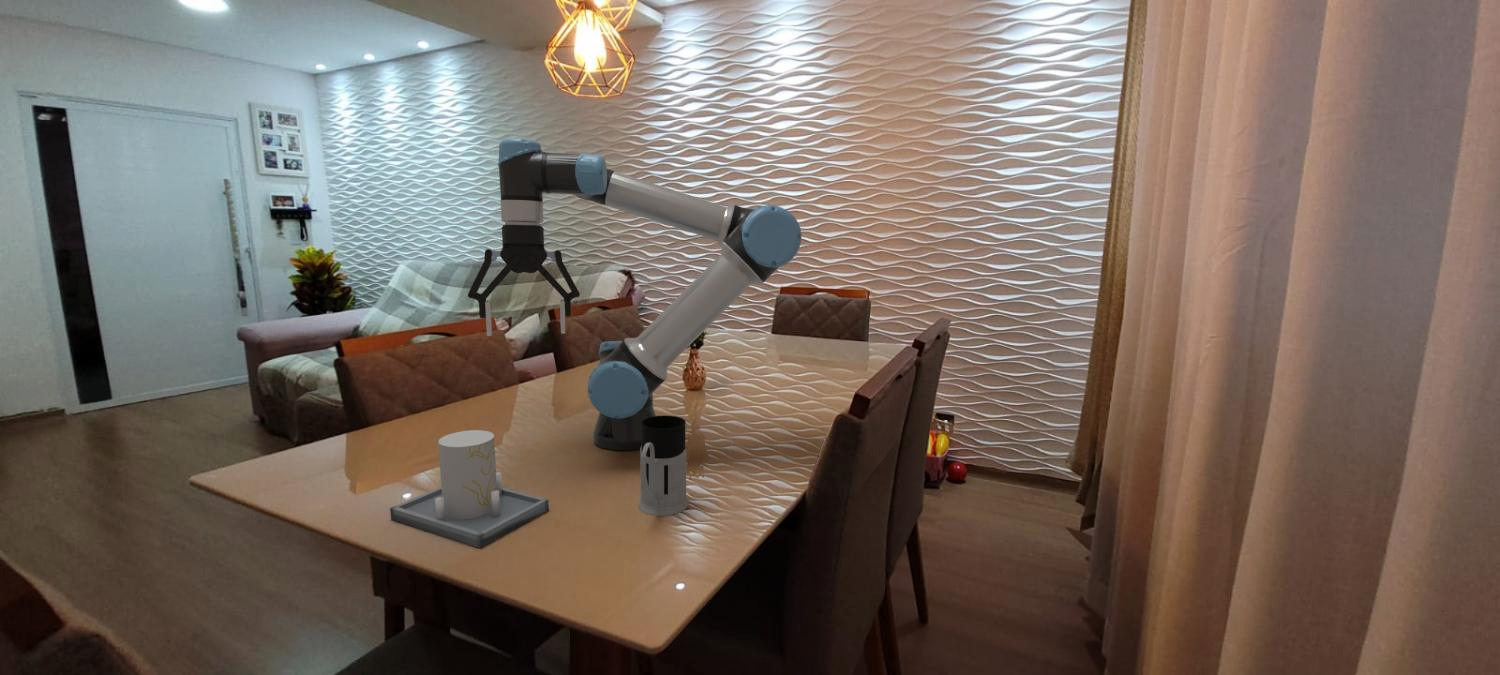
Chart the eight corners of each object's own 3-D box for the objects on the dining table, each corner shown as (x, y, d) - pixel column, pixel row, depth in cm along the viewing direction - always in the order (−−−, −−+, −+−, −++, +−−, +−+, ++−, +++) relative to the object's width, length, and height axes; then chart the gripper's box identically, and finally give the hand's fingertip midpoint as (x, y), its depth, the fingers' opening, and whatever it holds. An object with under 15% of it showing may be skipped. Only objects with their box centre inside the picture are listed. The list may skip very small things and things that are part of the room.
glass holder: (694, 496, 106) (695, 416, 104) (669, 534, 92) (669, 442, 90) (648, 491, 108) (648, 412, 105) (617, 528, 94) (616, 438, 92)
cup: (476, 522, 92) (472, 449, 90) (431, 516, 94) (426, 444, 92) (507, 500, 100) (504, 432, 98) (465, 495, 102) (461, 428, 100)
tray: (548, 510, 100) (547, 481, 99) (480, 548, 87) (478, 515, 86) (464, 487, 108) (463, 460, 107) (390, 519, 95) (388, 489, 94)
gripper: (588, 226, 120) (590, 329, 124) (452, 222, 112) (459, 332, 115) (591, 225, 114) (594, 334, 117) (447, 221, 105) (454, 339, 108)
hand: (527, 333), depth 116 cm, fingers open, 13 cm apart
